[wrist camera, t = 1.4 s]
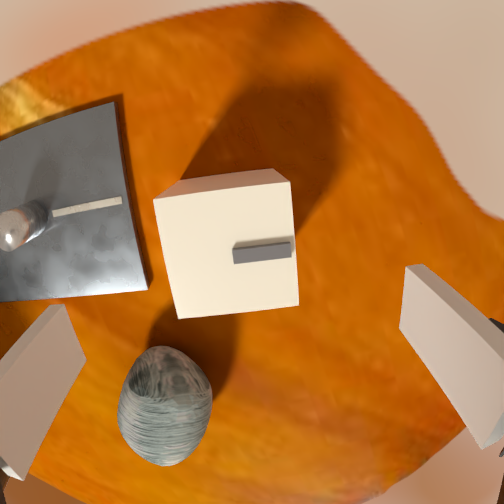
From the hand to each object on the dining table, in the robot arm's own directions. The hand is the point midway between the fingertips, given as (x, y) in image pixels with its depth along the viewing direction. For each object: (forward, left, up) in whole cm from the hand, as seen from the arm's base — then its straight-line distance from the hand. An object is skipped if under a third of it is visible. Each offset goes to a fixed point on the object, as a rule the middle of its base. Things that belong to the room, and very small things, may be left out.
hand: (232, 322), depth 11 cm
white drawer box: (0, 0, -16) cm, 16 cm away
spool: (-9, -17, -16) cm, 25 cm away
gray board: (-18, +3, -16) cm, 24 cm away
